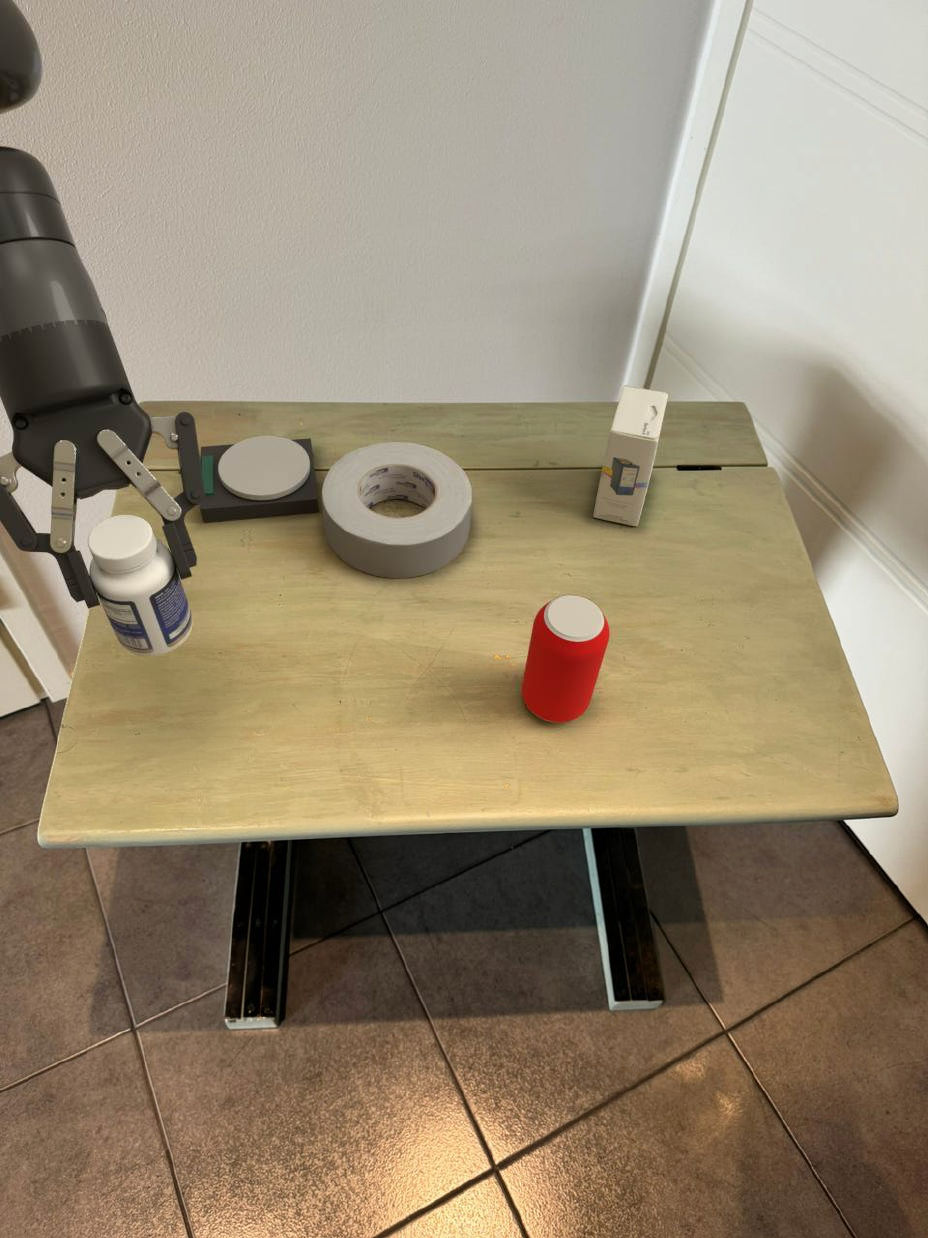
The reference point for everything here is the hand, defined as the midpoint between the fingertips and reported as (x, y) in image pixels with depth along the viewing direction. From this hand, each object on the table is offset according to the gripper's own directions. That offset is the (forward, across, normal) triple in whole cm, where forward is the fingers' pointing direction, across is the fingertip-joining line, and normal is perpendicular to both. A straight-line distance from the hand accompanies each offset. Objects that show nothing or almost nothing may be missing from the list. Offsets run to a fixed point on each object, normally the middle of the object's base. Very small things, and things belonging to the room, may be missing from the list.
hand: (141, 590), depth 55 cm
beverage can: (+21, +30, +8) cm, 37 cm away
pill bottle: (+3, 0, +6) cm, 7 cm away
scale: (-6, +15, +35) cm, 38 cm away
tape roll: (+2, +26, +26) cm, 37 cm away
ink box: (+7, +50, +22) cm, 55 cm away
